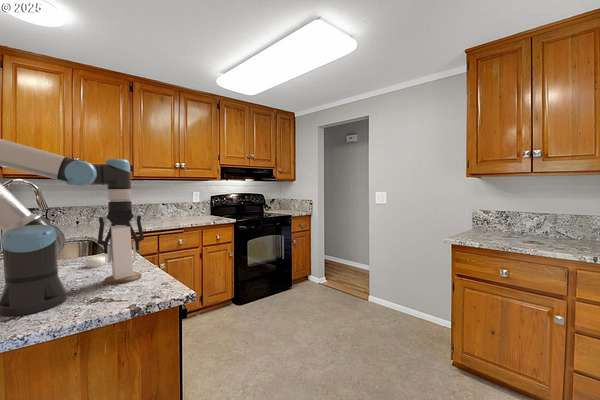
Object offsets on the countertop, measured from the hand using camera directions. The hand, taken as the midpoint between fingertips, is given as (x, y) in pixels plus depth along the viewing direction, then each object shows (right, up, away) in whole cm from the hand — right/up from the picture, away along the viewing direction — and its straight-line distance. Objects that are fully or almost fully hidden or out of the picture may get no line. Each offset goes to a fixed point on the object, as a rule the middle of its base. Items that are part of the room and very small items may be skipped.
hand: (122, 260), depth 110 cm
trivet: (0, -7, 0) cm, 7 cm away
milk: (0, -6, 0) cm, 6 cm away
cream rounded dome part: (-23, -6, +19) cm, 30 cm away
